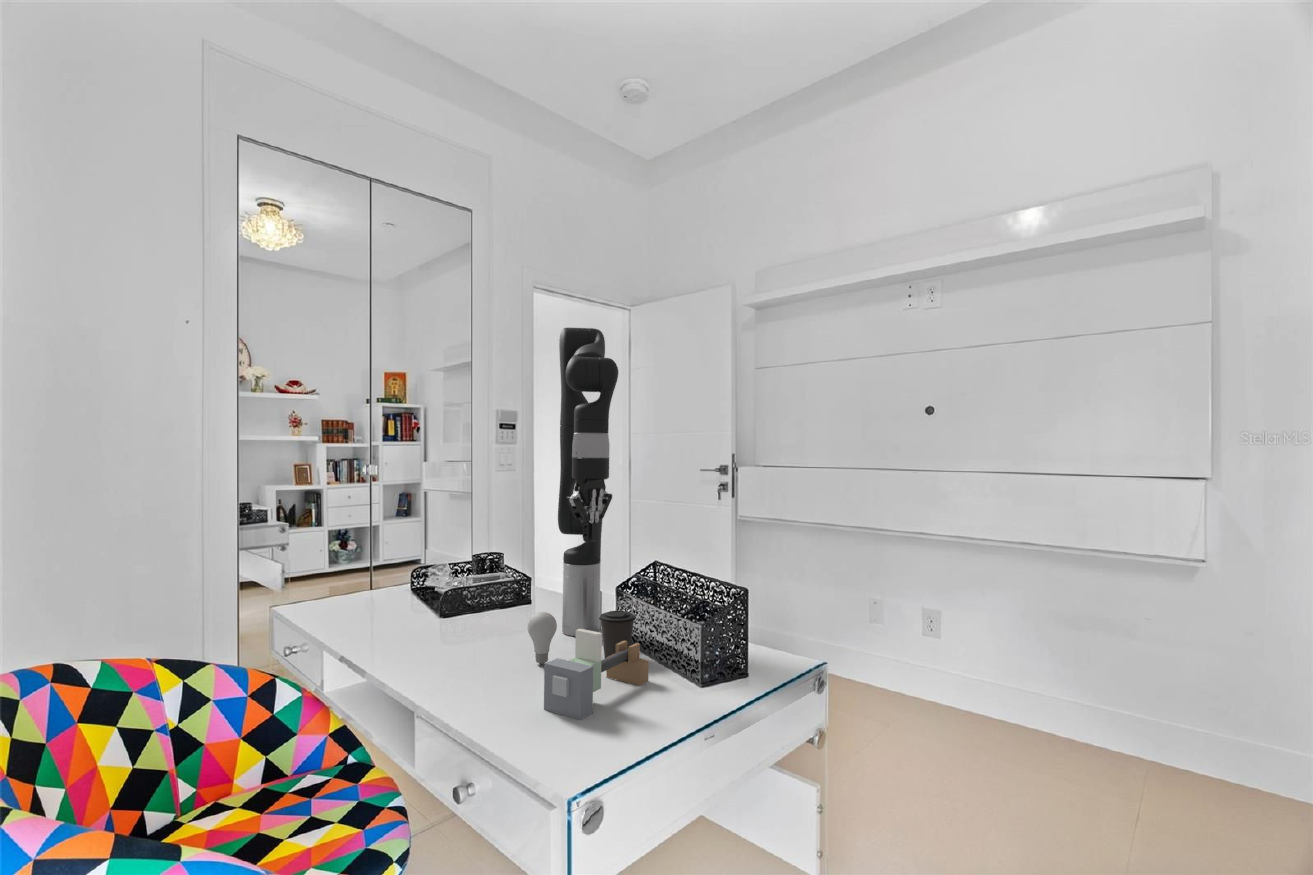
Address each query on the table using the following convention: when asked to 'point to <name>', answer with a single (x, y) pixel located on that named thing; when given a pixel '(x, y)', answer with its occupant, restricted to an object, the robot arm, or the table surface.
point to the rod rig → (589, 680)
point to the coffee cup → (616, 630)
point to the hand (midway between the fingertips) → (589, 541)
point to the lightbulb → (542, 634)
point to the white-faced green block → (589, 653)
